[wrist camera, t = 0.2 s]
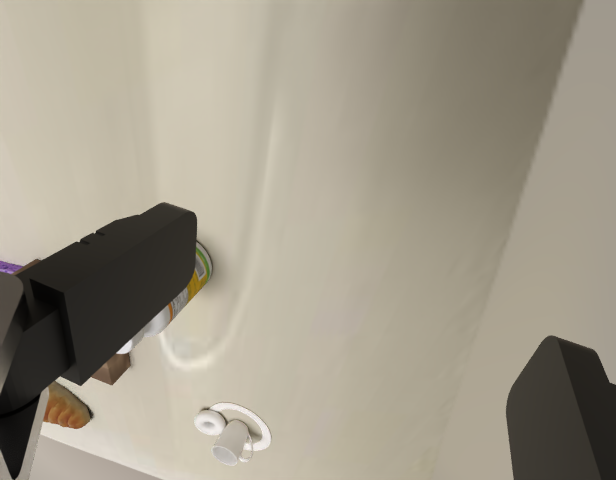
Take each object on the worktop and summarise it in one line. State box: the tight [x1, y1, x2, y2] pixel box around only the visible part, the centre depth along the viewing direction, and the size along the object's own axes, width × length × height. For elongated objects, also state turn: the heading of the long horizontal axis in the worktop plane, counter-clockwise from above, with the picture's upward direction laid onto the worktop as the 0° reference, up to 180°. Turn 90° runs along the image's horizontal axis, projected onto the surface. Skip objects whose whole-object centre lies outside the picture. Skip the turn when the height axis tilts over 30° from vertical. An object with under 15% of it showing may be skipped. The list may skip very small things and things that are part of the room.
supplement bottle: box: [117, 242, 212, 354], centre depth 31 cm, size 5×5×10 cm
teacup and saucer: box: [194, 402, 271, 465], centre depth 44 cm, size 9×8×4 cm
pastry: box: [43, 381, 90, 429], centre depth 55 cm, size 9×7×4 cm
